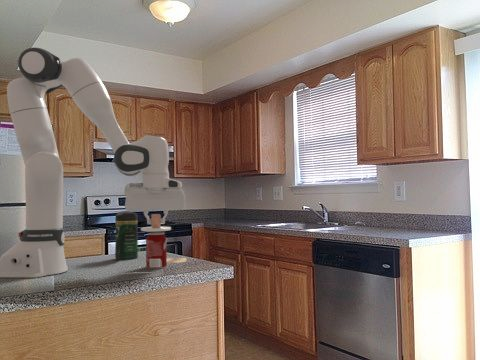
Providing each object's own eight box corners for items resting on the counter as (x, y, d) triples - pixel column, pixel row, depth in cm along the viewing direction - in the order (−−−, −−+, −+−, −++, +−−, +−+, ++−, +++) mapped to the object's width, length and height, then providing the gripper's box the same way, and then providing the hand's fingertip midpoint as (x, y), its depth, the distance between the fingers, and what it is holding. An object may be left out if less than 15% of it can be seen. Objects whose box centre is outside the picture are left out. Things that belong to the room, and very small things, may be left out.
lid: (139, 231, 138) (139, 215, 138) (142, 229, 148) (142, 213, 148) (170, 231, 139) (170, 214, 140) (171, 228, 149) (171, 213, 150)
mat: (158, 264, 151) (158, 263, 151) (159, 260, 161) (159, 258, 161) (186, 263, 153) (186, 262, 153) (186, 259, 163) (186, 257, 163)
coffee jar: (140, 260, 162) (140, 211, 163) (119, 261, 158) (119, 212, 159) (133, 256, 171) (133, 210, 171) (113, 258, 167) (113, 211, 167)
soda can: (162, 270, 139) (161, 234, 140) (142, 270, 141) (142, 234, 141) (169, 267, 146) (169, 232, 146) (151, 266, 147) (151, 232, 148)
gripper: (123, 182, 140) (123, 225, 139) (185, 182, 142) (186, 224, 142) (125, 183, 146) (125, 223, 146) (185, 183, 149) (186, 222, 148)
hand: (156, 223), depth 144 cm, fingers closed on lid, 3 cm apart
